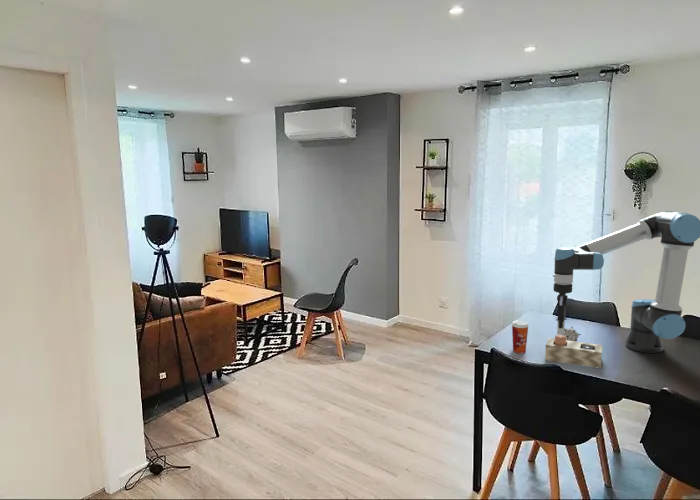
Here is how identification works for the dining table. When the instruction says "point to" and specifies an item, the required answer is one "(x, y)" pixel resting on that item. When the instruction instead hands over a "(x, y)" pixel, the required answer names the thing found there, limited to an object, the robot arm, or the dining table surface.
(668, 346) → the dining table surface
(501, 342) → the dining table surface
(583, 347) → the charcoal button
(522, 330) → the paper cup
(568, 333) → the spiked grey ball
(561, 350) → the button box
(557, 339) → the terracotta button
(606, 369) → the dining table surface
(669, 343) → the dining table surface
